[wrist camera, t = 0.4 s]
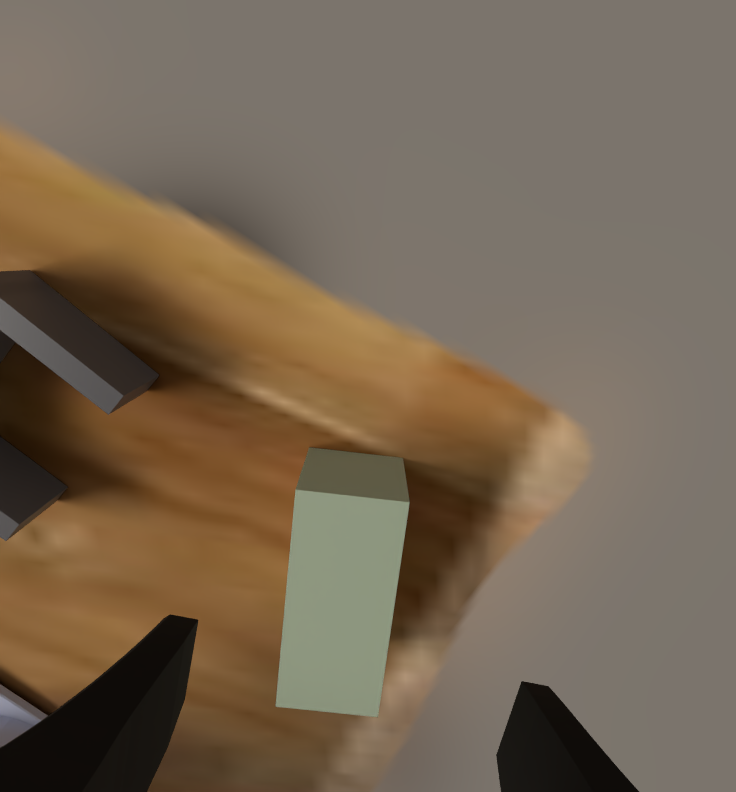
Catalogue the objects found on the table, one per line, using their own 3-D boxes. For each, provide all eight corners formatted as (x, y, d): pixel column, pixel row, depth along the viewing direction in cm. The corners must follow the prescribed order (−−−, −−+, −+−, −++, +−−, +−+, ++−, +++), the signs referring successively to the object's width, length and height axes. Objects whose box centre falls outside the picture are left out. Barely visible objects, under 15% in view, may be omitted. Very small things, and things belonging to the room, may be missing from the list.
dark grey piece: (56, 501, 21) (5, 541, 18) (-71, 408, 20) (-145, 434, 17) (159, 375, 20) (123, 395, 17) (30, 270, 19) (-32, 273, 16)
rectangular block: (376, 638, 23) (377, 717, 19) (291, 629, 23) (275, 706, 19) (402, 456, 21) (409, 502, 17) (309, 445, 21) (295, 489, 17)
